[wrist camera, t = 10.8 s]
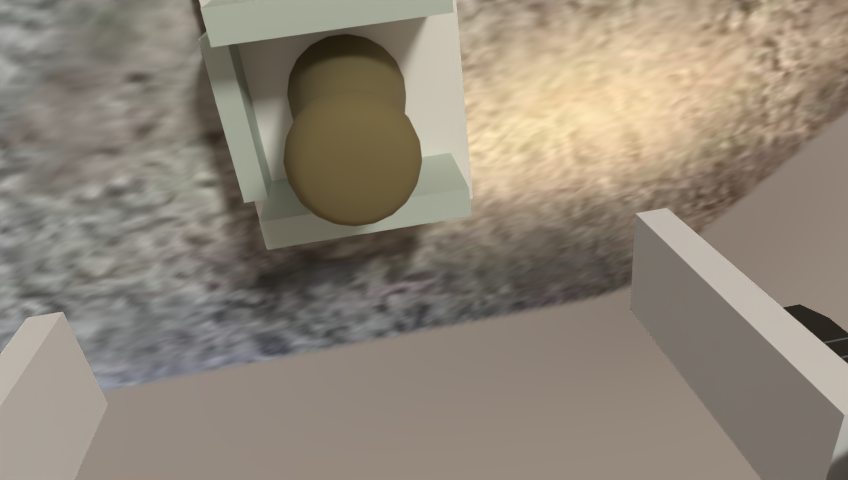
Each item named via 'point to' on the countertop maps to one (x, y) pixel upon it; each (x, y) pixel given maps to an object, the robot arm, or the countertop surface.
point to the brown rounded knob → (350, 132)
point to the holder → (271, 116)
